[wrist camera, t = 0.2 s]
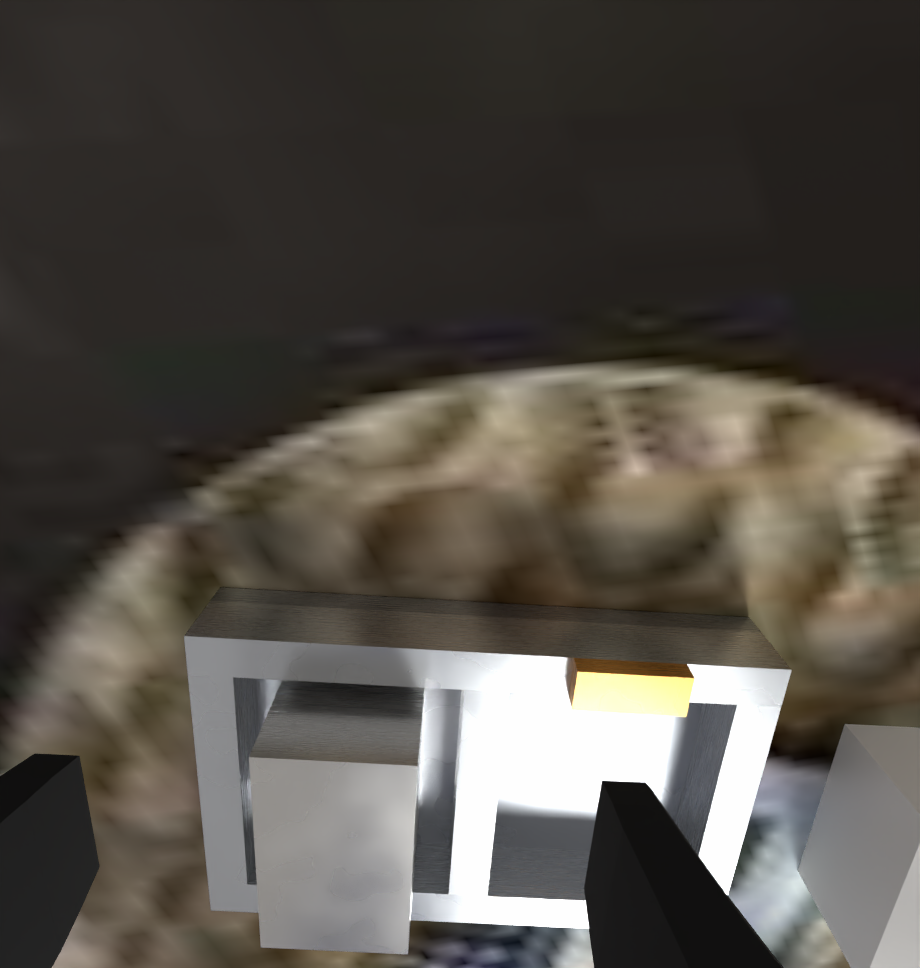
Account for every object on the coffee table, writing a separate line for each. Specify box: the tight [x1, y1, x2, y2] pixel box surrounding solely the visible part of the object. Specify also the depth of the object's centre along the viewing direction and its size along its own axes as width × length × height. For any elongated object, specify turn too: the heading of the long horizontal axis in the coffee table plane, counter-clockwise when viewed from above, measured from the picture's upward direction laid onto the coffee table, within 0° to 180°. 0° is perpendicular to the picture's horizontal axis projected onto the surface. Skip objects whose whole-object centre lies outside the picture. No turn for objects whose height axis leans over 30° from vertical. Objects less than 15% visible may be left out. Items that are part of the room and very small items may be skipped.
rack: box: [184, 587, 792, 954], centre depth 18 cm, size 10×16×5 cm, turn 86°
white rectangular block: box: [798, 724, 920, 968], centre depth 20 cm, size 6×4×4 cm, turn 177°
